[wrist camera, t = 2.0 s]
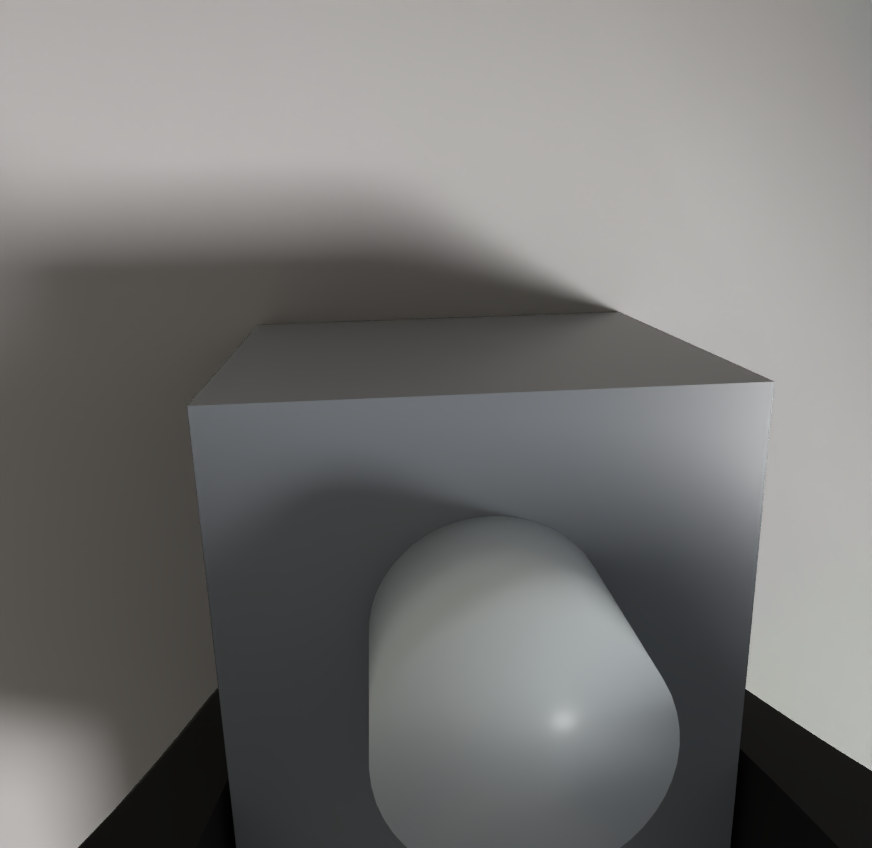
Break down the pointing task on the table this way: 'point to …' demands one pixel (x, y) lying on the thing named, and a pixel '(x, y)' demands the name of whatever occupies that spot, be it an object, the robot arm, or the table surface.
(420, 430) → the grey rectangular block
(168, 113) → the table surface
